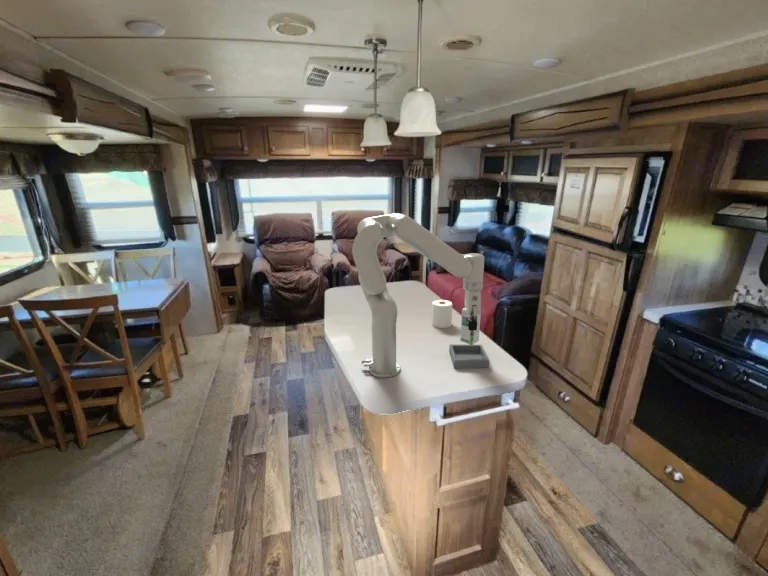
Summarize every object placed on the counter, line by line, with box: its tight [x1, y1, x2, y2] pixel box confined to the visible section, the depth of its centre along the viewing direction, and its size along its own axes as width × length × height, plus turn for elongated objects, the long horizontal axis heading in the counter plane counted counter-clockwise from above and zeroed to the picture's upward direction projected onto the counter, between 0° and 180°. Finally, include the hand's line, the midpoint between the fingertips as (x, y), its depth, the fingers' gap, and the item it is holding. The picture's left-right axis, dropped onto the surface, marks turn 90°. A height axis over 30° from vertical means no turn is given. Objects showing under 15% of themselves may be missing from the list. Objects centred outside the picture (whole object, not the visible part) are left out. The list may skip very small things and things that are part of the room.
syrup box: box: [459, 306, 482, 345], centre depth 143 cm, size 6×6×14 cm
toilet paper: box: [431, 299, 453, 329], centre depth 183 cm, size 10×10×12 cm
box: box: [448, 344, 490, 369], centre depth 147 cm, size 14×14×4 cm
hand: (470, 325), depth 143 cm, fingers closed on syrup box, 8 cm apart
